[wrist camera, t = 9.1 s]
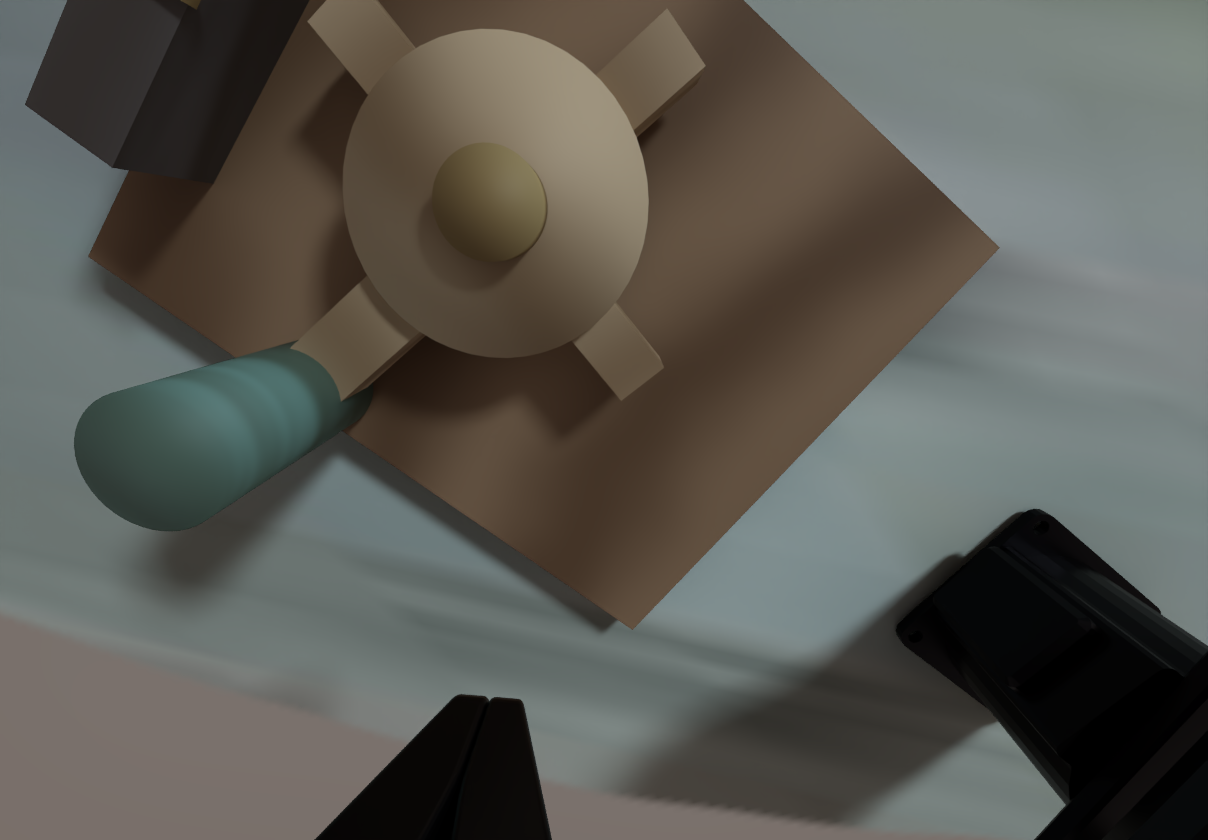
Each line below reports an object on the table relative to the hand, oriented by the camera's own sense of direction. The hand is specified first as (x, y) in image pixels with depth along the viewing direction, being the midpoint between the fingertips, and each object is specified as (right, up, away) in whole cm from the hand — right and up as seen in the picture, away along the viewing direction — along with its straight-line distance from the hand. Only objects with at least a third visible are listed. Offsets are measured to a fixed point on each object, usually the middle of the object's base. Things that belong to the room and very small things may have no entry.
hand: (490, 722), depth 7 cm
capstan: (-2, +8, +8) cm, 12 cm away
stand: (0, +9, +10) cm, 13 cm away
